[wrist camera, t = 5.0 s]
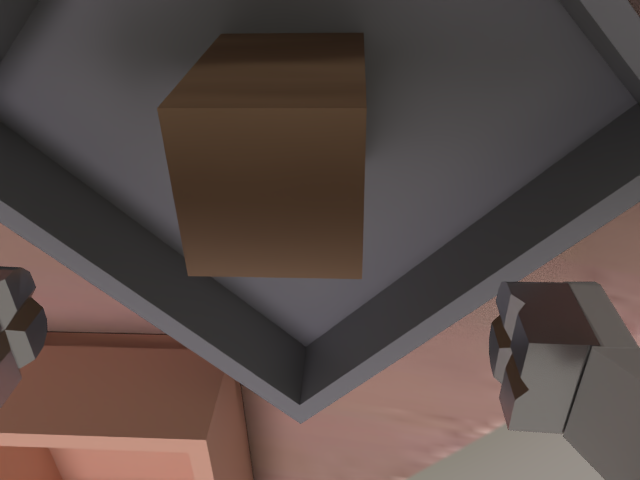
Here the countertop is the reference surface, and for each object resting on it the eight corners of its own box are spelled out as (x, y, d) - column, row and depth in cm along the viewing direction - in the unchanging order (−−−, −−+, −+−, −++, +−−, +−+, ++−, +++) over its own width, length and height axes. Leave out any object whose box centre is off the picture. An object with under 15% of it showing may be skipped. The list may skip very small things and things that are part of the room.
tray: (-45, 96, 18) (-123, 140, 15) (273, -433, 11) (244, -540, 8) (307, 354, 23) (300, 423, 20) (663, 95, 17) (728, 143, 14)
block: (220, 33, 16) (156, 108, 11) (363, 32, 16) (366, 108, 11) (235, 163, 18) (187, 276, 13) (360, 164, 18) (362, 278, 13)
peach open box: (-4, 331, 23) (-82, 430, 19) (233, 336, 23) (205, 440, 19) (61, 476, 29) (11, 578, 25) (254, 484, 28) (236, 590, 24)
